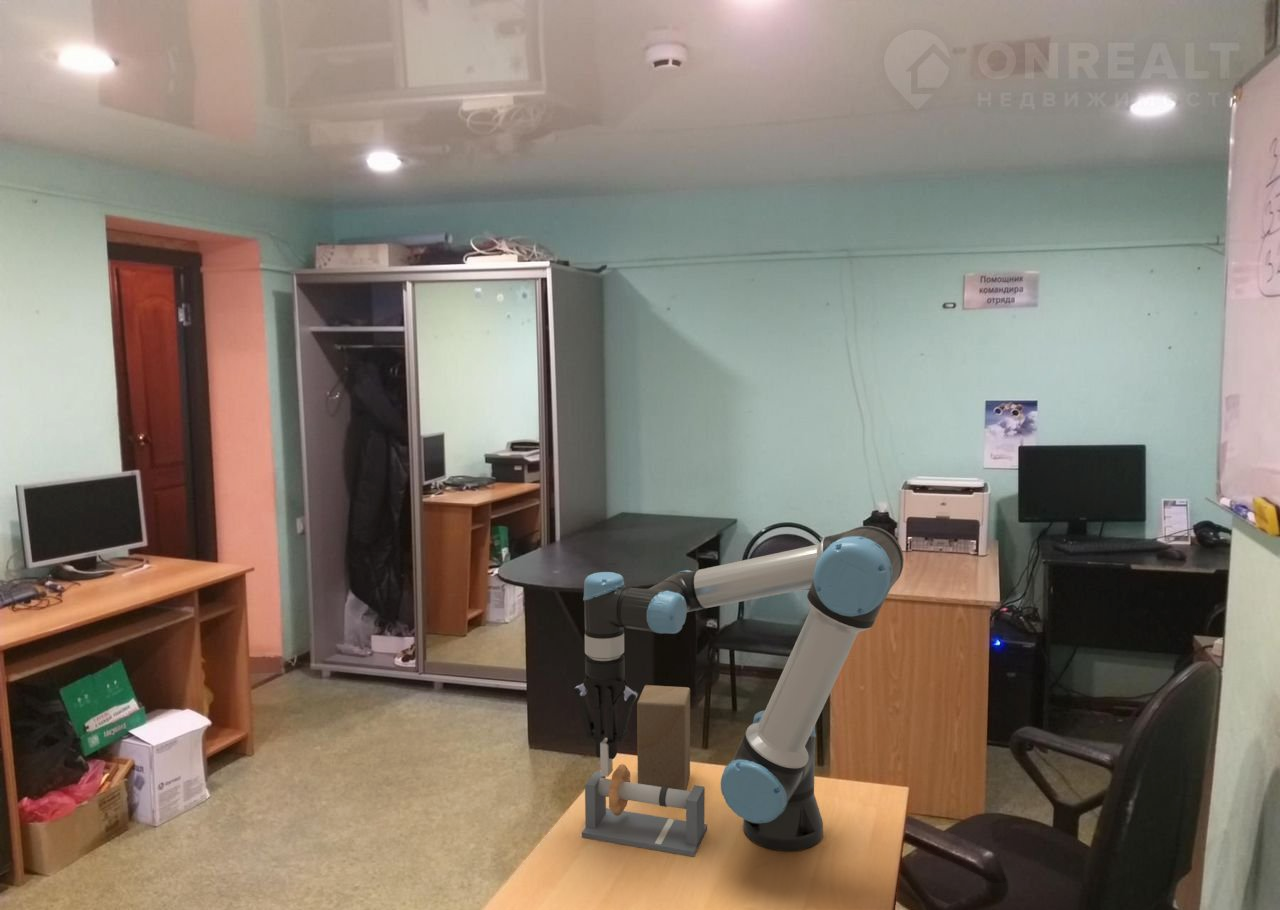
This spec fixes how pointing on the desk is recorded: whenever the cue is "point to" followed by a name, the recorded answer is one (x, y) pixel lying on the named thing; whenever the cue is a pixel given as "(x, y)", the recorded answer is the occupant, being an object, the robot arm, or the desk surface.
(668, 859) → the desk surface
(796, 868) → the desk surface
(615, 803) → the o-ring
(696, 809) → the pipe stand
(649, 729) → the wooden block
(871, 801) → the desk surface
